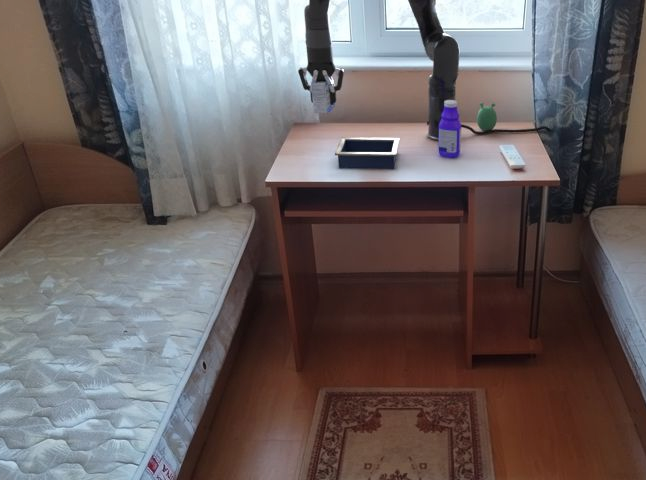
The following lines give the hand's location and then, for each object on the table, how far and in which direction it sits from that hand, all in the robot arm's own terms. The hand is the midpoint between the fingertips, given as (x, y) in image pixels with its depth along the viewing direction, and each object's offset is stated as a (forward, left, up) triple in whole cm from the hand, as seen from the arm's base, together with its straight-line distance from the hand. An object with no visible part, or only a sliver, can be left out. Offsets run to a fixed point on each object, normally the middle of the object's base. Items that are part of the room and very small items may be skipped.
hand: (323, 103), depth 205 cm
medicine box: (0, 0, -2) cm, 2 cm away
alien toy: (-52, -32, -18) cm, 63 cm away
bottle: (-39, -6, -18) cm, 43 cm away
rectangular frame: (-13, 0, -18) cm, 22 cm away
